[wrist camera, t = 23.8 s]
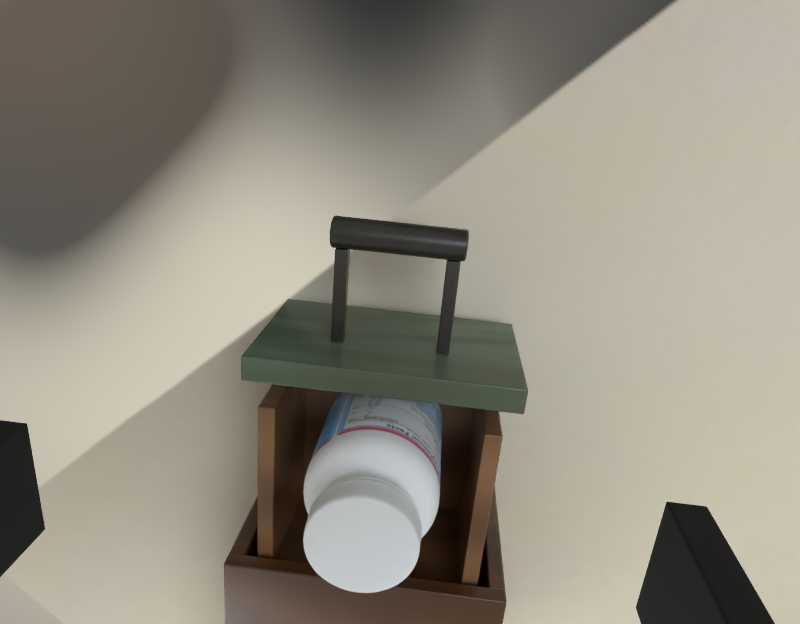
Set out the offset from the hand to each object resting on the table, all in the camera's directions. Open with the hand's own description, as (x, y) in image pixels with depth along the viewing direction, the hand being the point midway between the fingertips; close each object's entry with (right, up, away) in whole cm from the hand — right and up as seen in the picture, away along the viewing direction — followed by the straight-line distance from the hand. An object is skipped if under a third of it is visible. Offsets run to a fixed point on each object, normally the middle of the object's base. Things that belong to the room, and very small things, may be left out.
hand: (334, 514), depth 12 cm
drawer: (+1, +1, +22) cm, 22 cm away
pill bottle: (+1, -1, +22) cm, 22 cm away
